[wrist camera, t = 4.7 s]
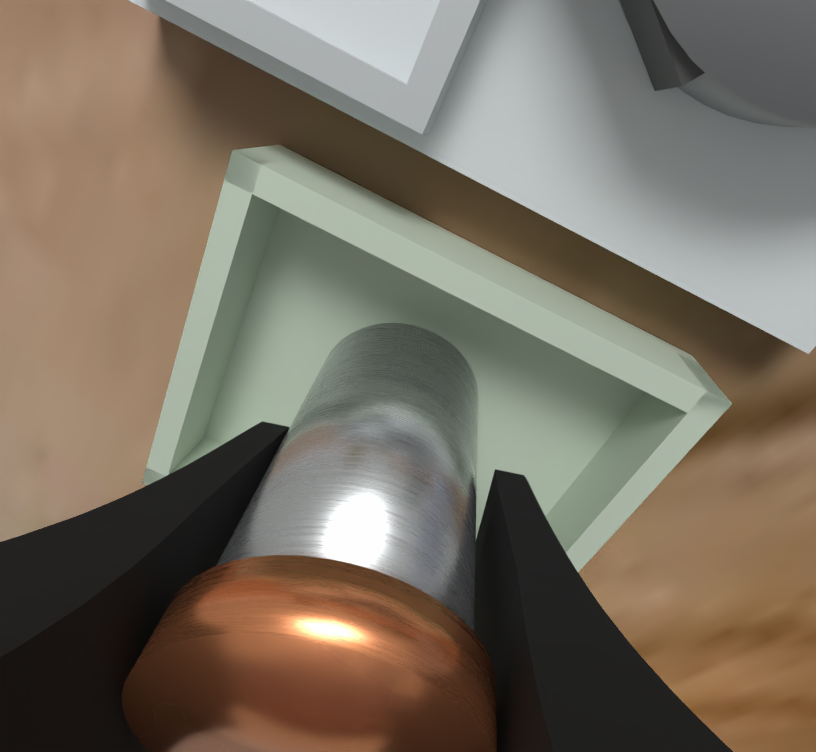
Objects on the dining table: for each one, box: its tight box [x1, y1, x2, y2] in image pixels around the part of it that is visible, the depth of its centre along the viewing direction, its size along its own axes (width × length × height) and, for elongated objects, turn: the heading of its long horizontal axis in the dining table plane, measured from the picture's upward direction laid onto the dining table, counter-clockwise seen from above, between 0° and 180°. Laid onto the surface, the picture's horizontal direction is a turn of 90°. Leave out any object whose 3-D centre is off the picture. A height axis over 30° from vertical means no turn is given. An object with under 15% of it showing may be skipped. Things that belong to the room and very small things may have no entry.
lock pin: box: [122, 323, 497, 752], centre depth 10 cm, size 5×5×8 cm
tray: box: [142, 145, 732, 572], centre depth 14 cm, size 11×9×2 cm
